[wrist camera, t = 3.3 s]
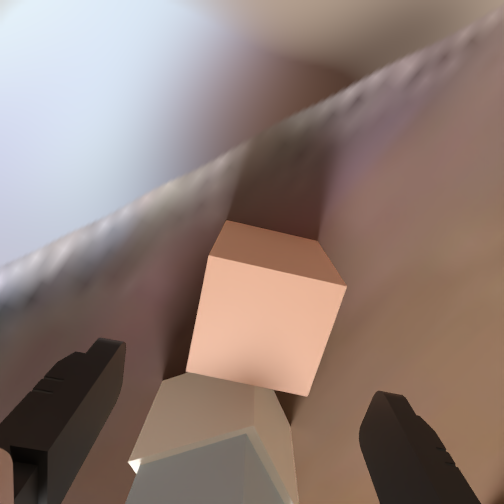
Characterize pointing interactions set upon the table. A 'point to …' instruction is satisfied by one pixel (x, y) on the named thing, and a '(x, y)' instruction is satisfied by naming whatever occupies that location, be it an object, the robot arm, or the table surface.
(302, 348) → the terracotta block
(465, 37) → the table surface
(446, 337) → the table surface
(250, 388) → the cream base block
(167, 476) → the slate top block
